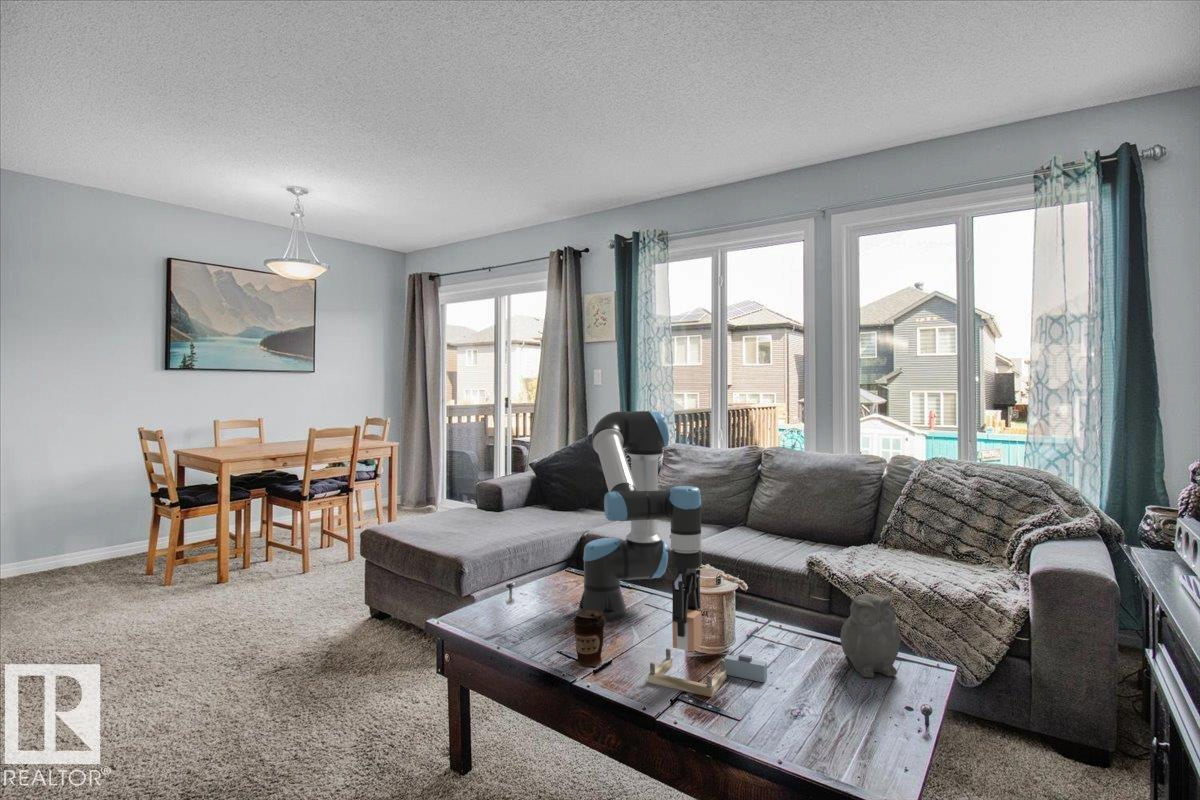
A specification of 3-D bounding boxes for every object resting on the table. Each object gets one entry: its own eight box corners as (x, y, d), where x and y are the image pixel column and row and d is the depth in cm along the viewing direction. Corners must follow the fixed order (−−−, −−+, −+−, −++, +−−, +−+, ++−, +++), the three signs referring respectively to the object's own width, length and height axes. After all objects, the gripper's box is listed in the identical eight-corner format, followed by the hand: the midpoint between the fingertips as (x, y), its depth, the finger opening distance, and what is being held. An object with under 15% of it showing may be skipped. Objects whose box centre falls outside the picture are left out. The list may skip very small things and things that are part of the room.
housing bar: (727, 670, 154) (727, 650, 154) (766, 678, 149) (766, 658, 149) (724, 674, 152) (724, 654, 152) (764, 682, 147) (764, 661, 147)
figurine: (853, 681, 148) (852, 599, 148) (828, 654, 164) (827, 580, 164) (911, 681, 148) (909, 598, 148) (880, 654, 164) (879, 580, 164)
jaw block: (681, 640, 153) (680, 608, 153) (701, 643, 150) (701, 611, 150) (672, 647, 148) (672, 614, 148) (694, 651, 145) (693, 618, 145)
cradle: (666, 665, 158) (666, 647, 158) (726, 677, 150) (726, 659, 150) (648, 682, 148) (648, 663, 148) (711, 697, 140) (711, 677, 140)
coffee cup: (602, 671, 155) (601, 619, 155) (570, 668, 156) (570, 617, 157) (608, 657, 163) (608, 608, 164) (578, 655, 165) (578, 607, 165)
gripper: (685, 541, 159) (686, 630, 159) (656, 555, 143) (658, 655, 143) (712, 544, 156) (714, 635, 155) (686, 559, 140) (688, 661, 139)
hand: (687, 644), depth 149 cm, fingers closed on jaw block, 5 cm apart
